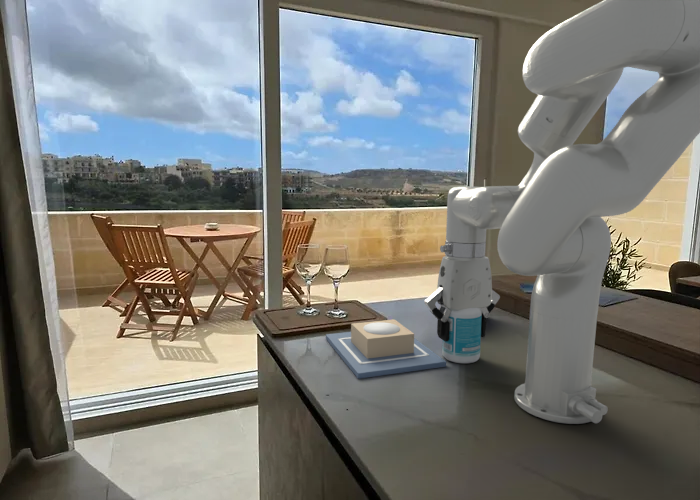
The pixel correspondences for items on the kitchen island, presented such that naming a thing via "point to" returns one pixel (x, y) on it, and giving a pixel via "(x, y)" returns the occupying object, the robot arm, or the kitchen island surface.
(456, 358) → the pill bottle
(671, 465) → the kitchen island surface
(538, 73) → the robot arm
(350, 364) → the board
